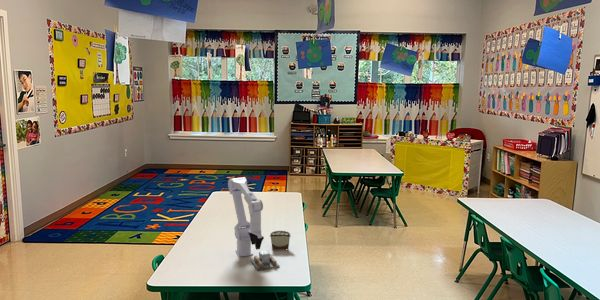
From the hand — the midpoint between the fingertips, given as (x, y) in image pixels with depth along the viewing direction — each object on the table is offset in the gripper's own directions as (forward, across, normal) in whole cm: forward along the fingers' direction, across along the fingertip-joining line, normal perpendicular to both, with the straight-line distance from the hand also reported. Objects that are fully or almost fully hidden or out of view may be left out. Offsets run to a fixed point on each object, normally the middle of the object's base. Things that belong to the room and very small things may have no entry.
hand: (255, 246), depth 240 cm
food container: (+10, -15, +20) cm, 27 cm away
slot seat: (+9, +4, +4) cm, 11 cm away
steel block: (+8, +4, +4) cm, 10 cm away
